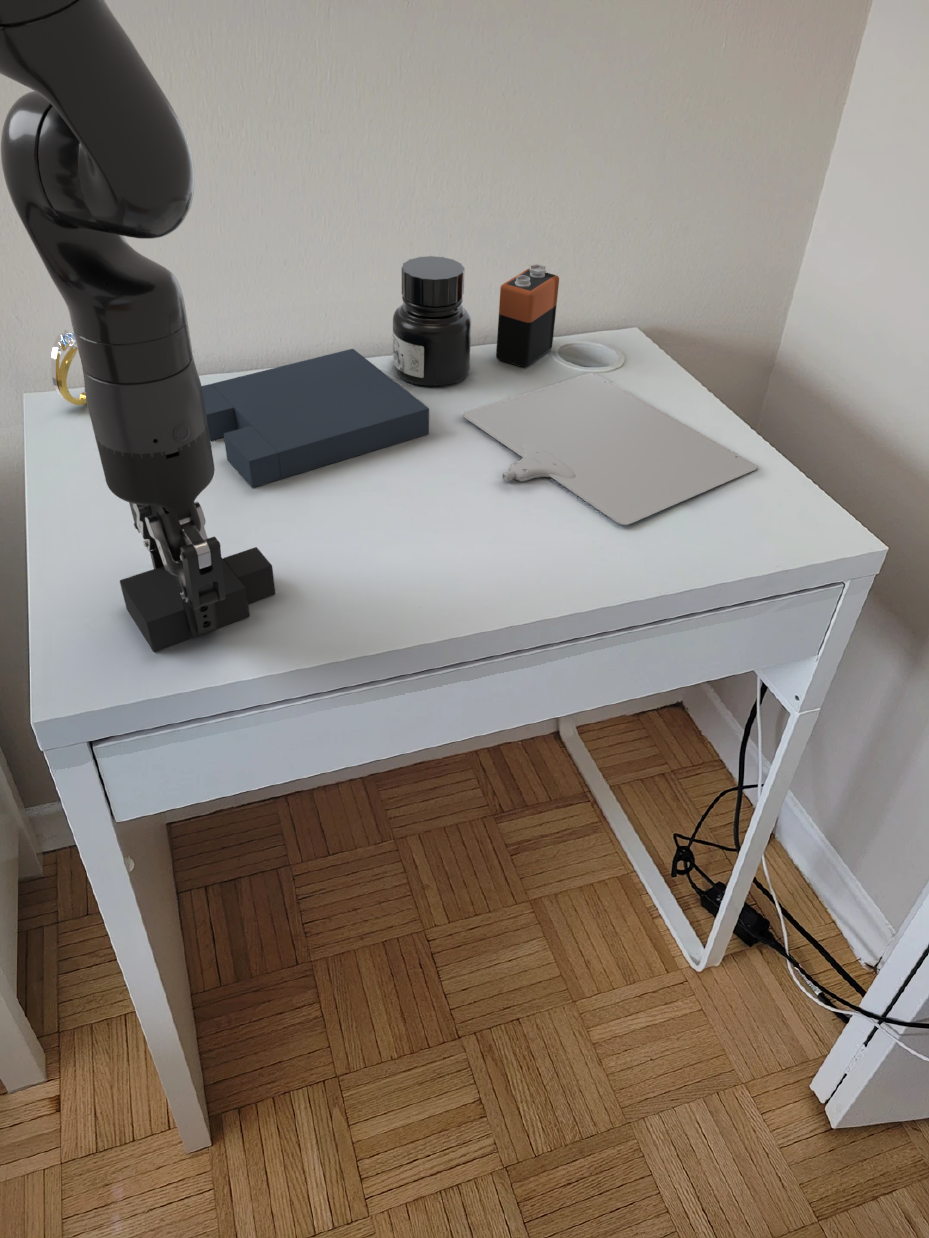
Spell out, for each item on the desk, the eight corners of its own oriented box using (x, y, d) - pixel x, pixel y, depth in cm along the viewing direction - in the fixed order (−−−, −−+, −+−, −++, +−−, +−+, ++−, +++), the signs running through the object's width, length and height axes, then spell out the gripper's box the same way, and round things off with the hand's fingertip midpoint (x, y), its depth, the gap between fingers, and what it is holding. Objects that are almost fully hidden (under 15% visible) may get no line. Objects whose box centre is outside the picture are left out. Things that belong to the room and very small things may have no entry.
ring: (76, 420, 99) (58, 348, 93) (52, 413, 99) (32, 341, 94) (121, 392, 103) (105, 322, 98) (97, 386, 104) (81, 316, 99)
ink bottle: (388, 353, 113) (386, 252, 105) (460, 350, 114) (464, 250, 107) (399, 392, 106) (398, 286, 98) (476, 388, 107) (482, 283, 99)
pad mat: (252, 488, 90) (248, 461, 88) (187, 416, 100) (183, 390, 98) (429, 434, 99) (429, 408, 97) (354, 372, 109) (352, 348, 107)
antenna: (429, 428, 100) (429, 418, 99) (591, 377, 112) (593, 367, 111) (591, 545, 85) (593, 535, 85) (758, 472, 97) (761, 462, 96)
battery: (553, 349, 116) (562, 267, 109) (525, 369, 111) (533, 286, 105) (522, 340, 117) (529, 259, 111) (494, 359, 113) (499, 276, 106)
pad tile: (153, 652, 73) (146, 623, 71) (126, 609, 77) (119, 580, 75) (283, 604, 78) (280, 575, 76) (252, 565, 81) (248, 537, 79)
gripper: (63, 391, 68) (111, 575, 79) (133, 486, 59) (176, 678, 70) (164, 367, 71) (197, 547, 82) (245, 454, 62) (269, 642, 73)
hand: (187, 606), depth 76 cm, fingers closed on pad tile, 6 cm apart
